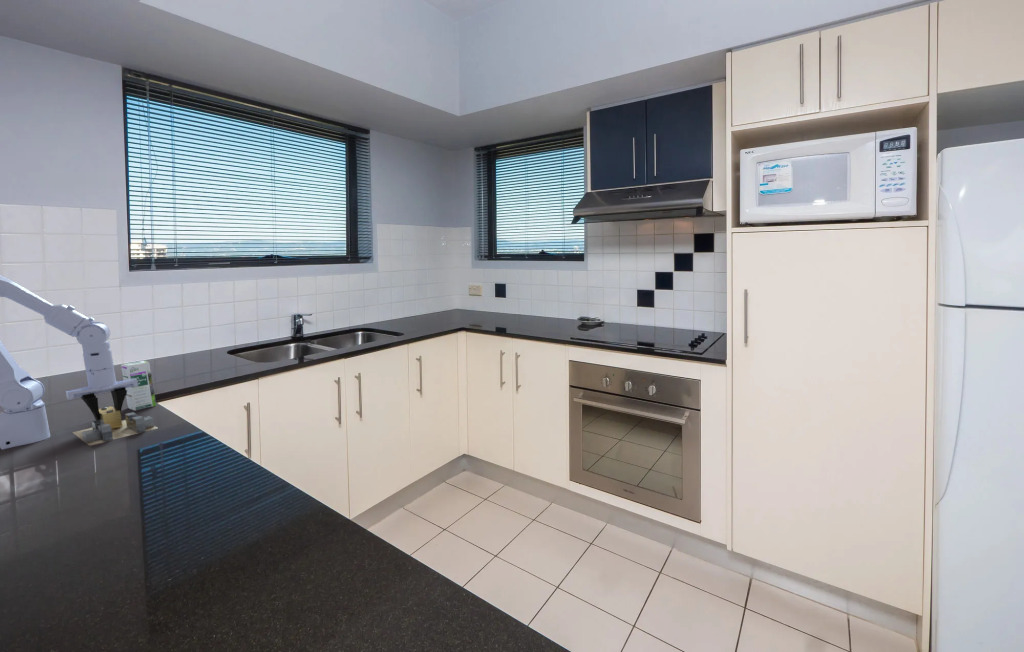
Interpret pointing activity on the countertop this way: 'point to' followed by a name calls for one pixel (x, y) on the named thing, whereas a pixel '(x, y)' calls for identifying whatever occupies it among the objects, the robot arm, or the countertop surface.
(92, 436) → the chain ends
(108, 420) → the link
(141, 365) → the syrup box
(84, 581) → the countertop surface
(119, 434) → the board
